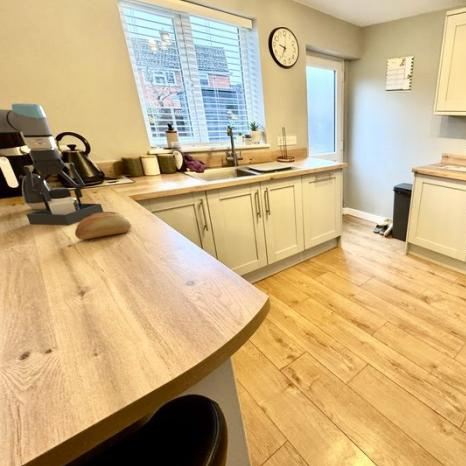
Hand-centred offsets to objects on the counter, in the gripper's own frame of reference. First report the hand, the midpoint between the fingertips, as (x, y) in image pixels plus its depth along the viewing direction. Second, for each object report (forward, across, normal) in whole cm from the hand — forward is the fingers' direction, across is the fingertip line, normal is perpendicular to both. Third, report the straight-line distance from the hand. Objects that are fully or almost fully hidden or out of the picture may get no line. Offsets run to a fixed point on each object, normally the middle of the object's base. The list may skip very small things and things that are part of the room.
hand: (65, 207), depth 115 cm
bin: (+4, 0, 0) cm, 4 cm away
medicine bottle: (+5, 0, 0) cm, 5 cm away
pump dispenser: (+5, -8, +26) cm, 27 cm away
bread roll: (+5, +10, -32) cm, 34 cm away
